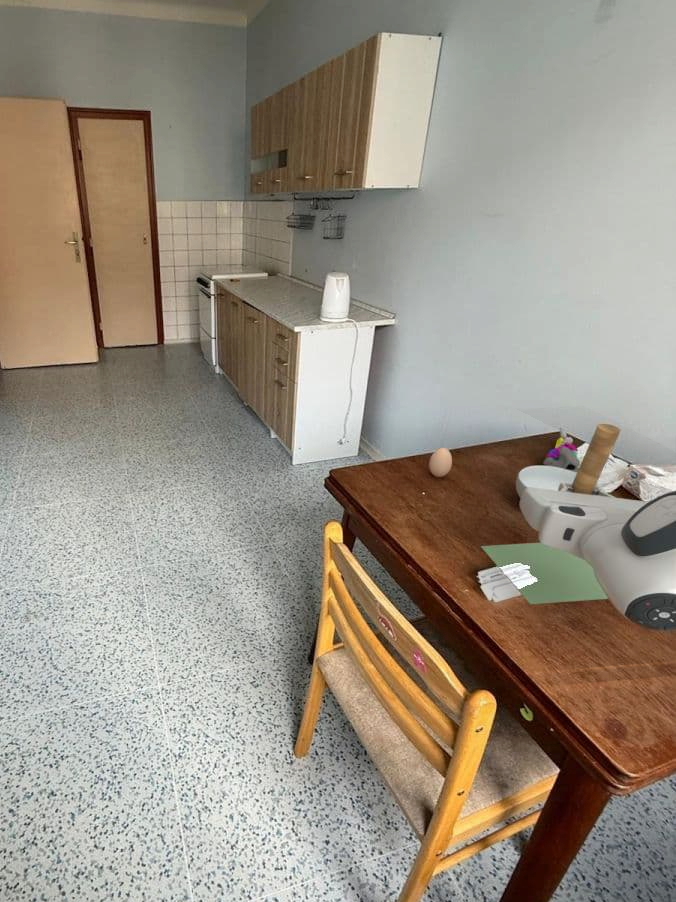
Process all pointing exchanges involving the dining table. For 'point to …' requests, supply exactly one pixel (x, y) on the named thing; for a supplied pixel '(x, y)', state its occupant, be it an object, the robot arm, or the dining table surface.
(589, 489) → the dish brush
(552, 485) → the cereal bowl
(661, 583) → the robot arm
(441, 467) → the egg
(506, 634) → the dining table surface
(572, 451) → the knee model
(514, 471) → the dining table surface
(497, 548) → the mat
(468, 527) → the dining table surface
